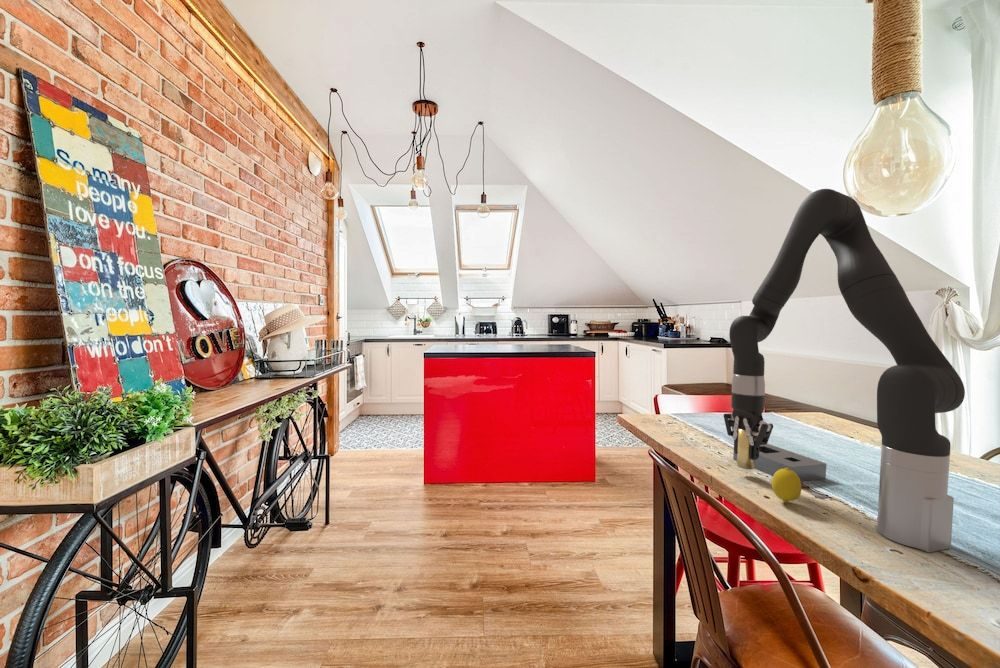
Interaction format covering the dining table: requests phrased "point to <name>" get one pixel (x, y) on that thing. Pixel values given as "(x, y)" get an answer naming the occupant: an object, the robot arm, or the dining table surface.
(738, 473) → the dining table surface
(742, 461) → the gold metal block
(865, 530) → the dining table surface
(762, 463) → the plate
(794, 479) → the lemon
